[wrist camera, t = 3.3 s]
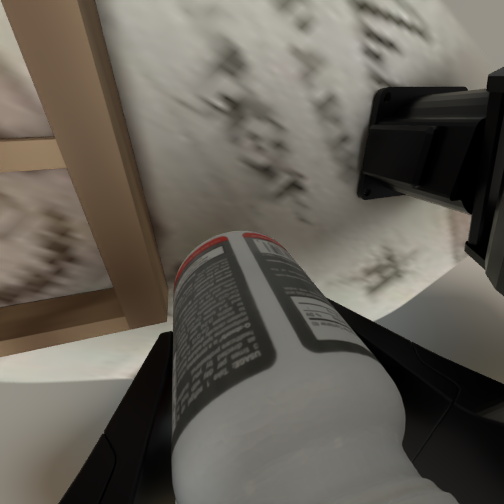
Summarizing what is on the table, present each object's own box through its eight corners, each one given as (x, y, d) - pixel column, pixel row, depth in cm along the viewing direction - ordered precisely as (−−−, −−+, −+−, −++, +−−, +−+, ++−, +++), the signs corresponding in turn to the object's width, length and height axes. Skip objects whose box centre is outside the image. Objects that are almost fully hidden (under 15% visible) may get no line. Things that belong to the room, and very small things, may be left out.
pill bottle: (191, 336, 13) (214, 763, 4) (156, 242, 10) (19, 1000, 1) (292, 307, 14) (474, 610, 5) (288, 214, 11) (682, 558, 2)
